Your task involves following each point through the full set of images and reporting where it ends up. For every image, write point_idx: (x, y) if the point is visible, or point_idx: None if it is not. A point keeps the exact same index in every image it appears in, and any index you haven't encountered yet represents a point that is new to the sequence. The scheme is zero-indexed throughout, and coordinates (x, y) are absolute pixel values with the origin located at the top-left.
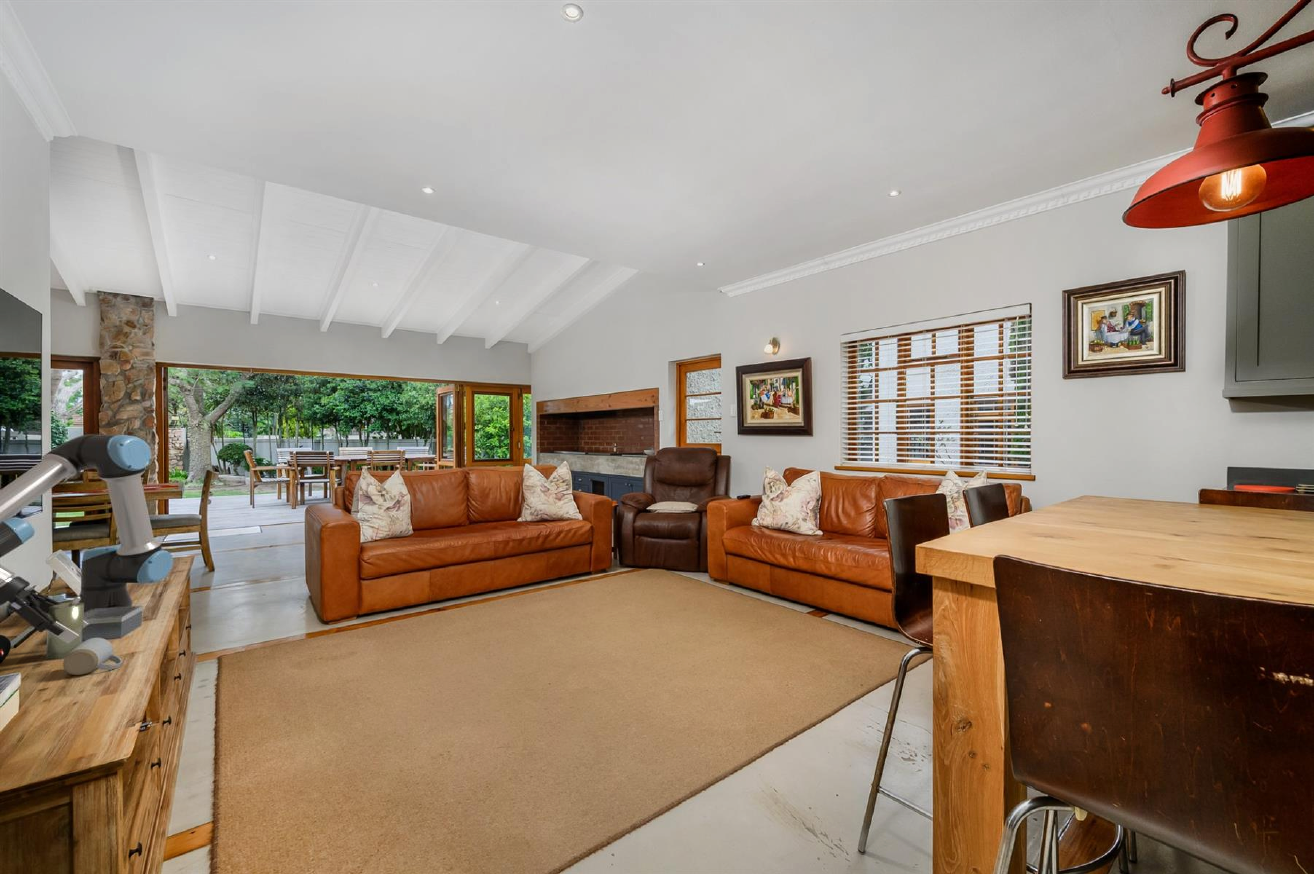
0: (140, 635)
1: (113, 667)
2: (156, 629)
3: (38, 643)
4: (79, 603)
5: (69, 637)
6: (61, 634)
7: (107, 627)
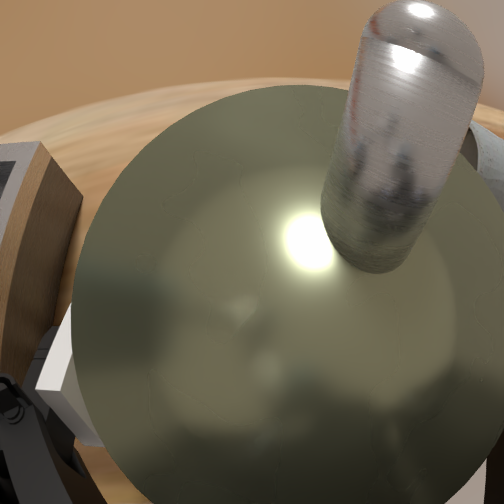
0: (87, 145)
1: None
2: (45, 128)
3: None
4: (232, 143)
5: None
6: None
7: (43, 221)
